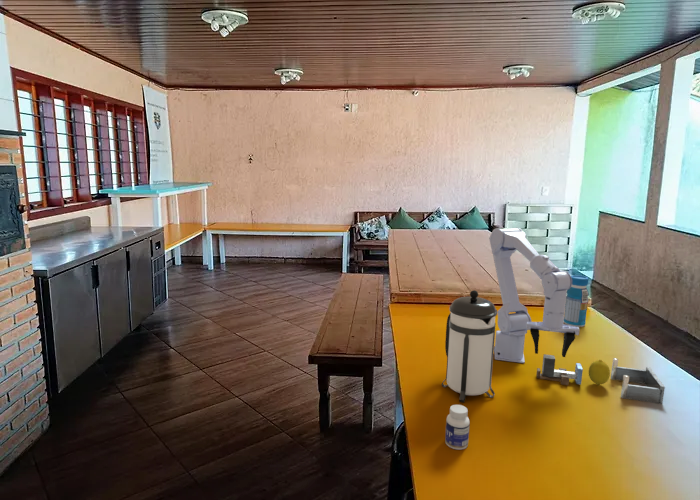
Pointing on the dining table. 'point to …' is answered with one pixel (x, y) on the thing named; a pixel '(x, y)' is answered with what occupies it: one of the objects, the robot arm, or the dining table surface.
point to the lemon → (599, 372)
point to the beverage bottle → (576, 302)
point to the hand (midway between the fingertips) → (549, 354)
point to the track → (562, 379)
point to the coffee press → (470, 345)
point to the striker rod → (551, 372)
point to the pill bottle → (457, 427)
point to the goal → (648, 377)
